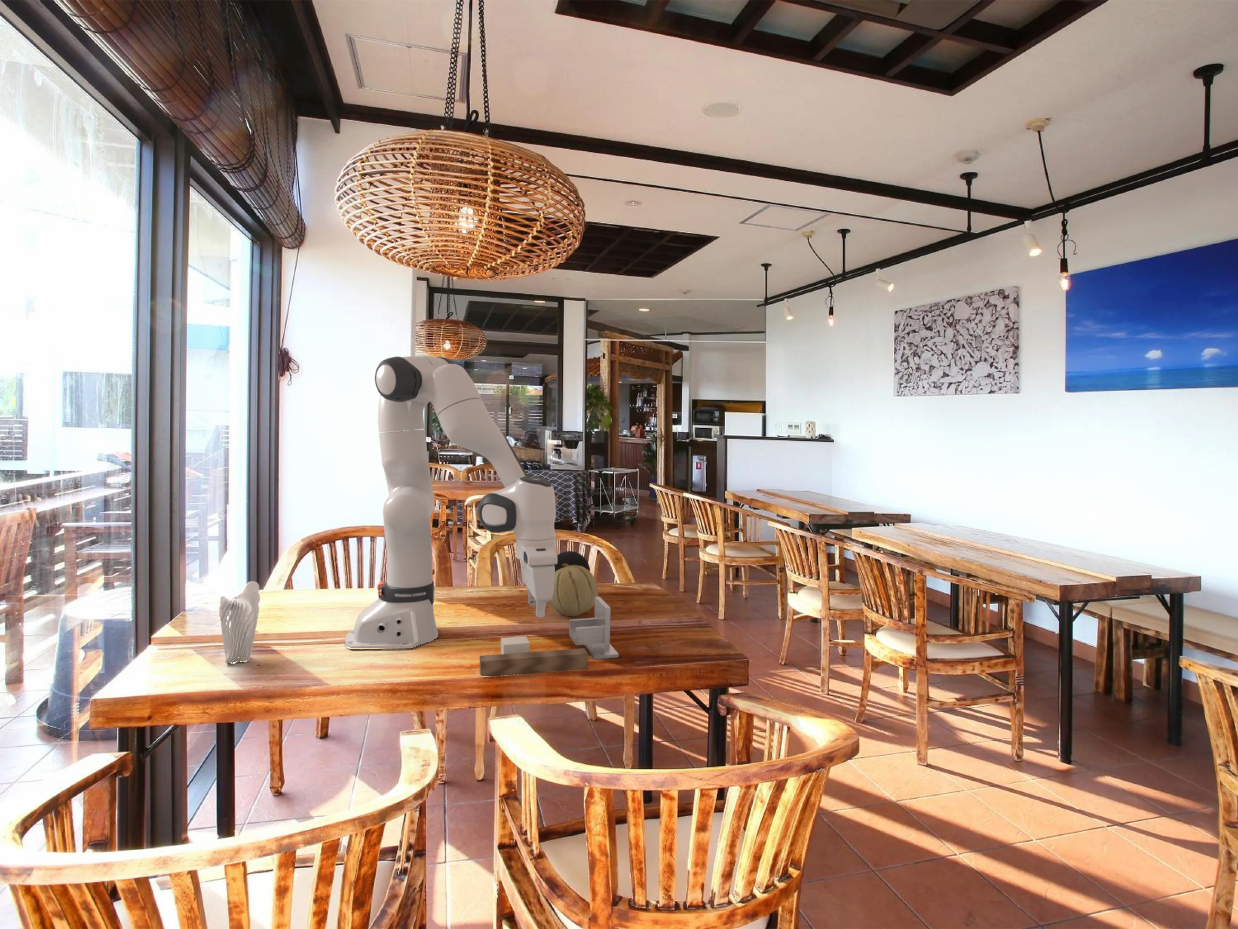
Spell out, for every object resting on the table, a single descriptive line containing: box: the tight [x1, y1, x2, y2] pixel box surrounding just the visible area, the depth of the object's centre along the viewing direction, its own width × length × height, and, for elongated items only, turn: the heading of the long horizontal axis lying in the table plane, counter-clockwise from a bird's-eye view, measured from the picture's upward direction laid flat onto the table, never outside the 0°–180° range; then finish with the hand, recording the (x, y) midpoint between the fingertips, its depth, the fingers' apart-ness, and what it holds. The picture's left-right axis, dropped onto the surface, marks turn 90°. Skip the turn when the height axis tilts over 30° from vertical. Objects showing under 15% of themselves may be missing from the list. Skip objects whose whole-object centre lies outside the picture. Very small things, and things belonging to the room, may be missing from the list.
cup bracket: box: [568, 596, 619, 660], centre depth 166 cm, size 10×12×12 cm
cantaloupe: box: [548, 563, 599, 617], centre depth 195 cm, size 15×15×15 cm
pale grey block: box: [500, 635, 530, 654], centre depth 161 cm, size 6×5×4 cm
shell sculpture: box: [218, 580, 261, 664], centre depth 153 cm, size 8×8×18 cm
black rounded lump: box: [554, 550, 591, 572], centre depth 213 cm, size 13×13×15 cm
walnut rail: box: [479, 647, 589, 677], centre depth 153 cm, size 24×4×4 cm, turn 106°
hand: (536, 610), depth 152 cm, fingers open, 8 cm apart
